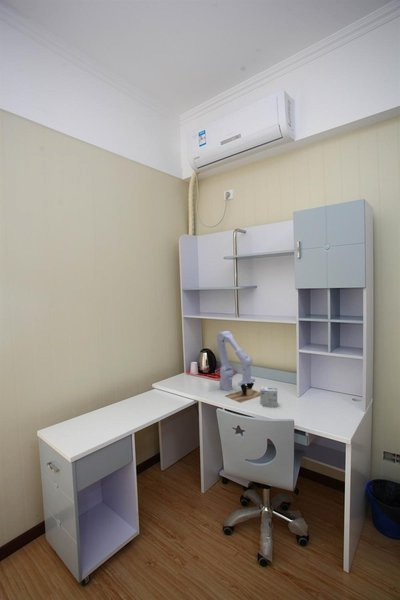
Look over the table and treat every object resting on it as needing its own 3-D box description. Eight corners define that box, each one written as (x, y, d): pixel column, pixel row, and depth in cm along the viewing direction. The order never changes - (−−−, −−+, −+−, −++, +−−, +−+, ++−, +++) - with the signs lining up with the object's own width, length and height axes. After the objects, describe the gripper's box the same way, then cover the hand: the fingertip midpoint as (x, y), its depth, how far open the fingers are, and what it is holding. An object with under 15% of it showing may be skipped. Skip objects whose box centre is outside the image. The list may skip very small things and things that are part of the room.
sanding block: (241, 393, 215) (241, 388, 214) (245, 392, 217) (245, 386, 217) (248, 396, 209) (248, 390, 209) (252, 394, 211) (252, 389, 211)
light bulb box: (277, 403, 199) (277, 387, 198) (277, 407, 192) (277, 390, 192) (260, 402, 202) (260, 386, 201) (260, 406, 195) (259, 389, 194)
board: (224, 397, 211) (224, 395, 211) (248, 389, 225) (248, 388, 225) (240, 404, 198) (240, 402, 198) (265, 395, 212) (265, 394, 212)
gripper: (243, 378, 205) (243, 397, 205) (258, 373, 213) (258, 392, 214) (236, 375, 210) (236, 394, 211) (250, 371, 219) (251, 390, 220)
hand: (247, 393), depth 213 cm, fingers closed on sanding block, 4 cm apart
